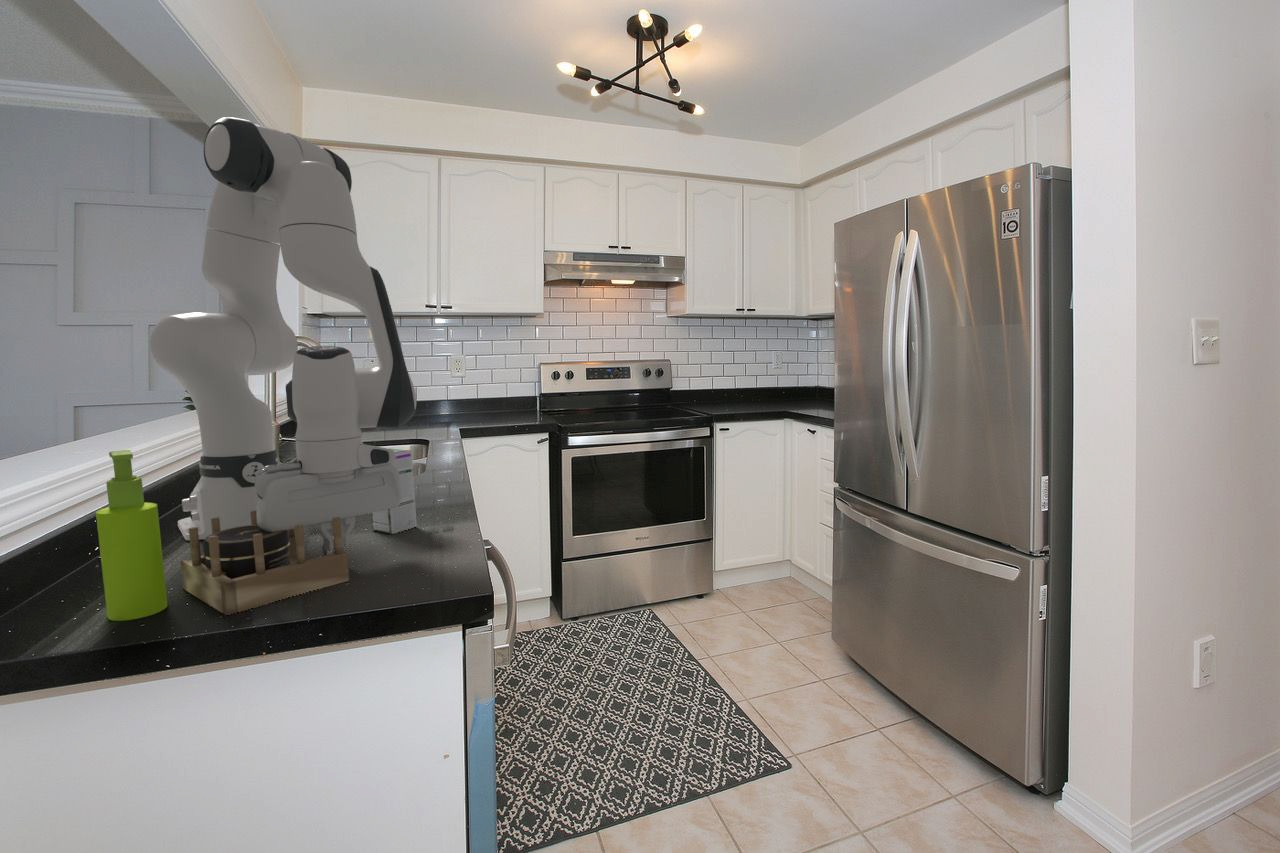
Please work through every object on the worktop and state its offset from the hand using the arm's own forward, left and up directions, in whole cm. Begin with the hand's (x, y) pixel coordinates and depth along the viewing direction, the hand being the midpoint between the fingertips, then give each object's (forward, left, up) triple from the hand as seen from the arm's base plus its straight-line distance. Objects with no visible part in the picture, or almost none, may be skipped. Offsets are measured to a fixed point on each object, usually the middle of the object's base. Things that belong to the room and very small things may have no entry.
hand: (336, 548), depth 96 cm
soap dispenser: (-4, -24, -3) cm, 24 cm away
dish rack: (0, -9, -3) cm, 10 cm away
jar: (-1, -12, -3) cm, 12 cm away
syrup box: (-12, +16, -3) cm, 20 cm away
